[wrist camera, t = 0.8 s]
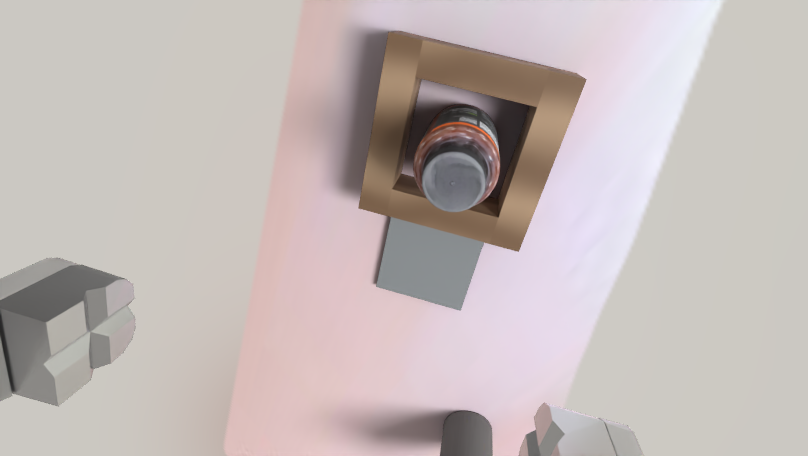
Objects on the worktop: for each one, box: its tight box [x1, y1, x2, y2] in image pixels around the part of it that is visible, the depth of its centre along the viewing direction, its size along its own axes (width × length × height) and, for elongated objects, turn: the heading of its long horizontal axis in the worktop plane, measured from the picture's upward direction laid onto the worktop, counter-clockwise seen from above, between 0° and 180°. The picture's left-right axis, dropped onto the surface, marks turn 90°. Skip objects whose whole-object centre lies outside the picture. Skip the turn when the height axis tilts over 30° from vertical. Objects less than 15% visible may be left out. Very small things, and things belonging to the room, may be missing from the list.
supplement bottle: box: [413, 104, 500, 212], centre depth 31 cm, size 6×6×11 cm
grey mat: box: [376, 217, 484, 310], centre depth 41 cm, size 9×9×1 cm
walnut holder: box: [359, 31, 587, 252], centre depth 34 cm, size 14×14×4 cm
